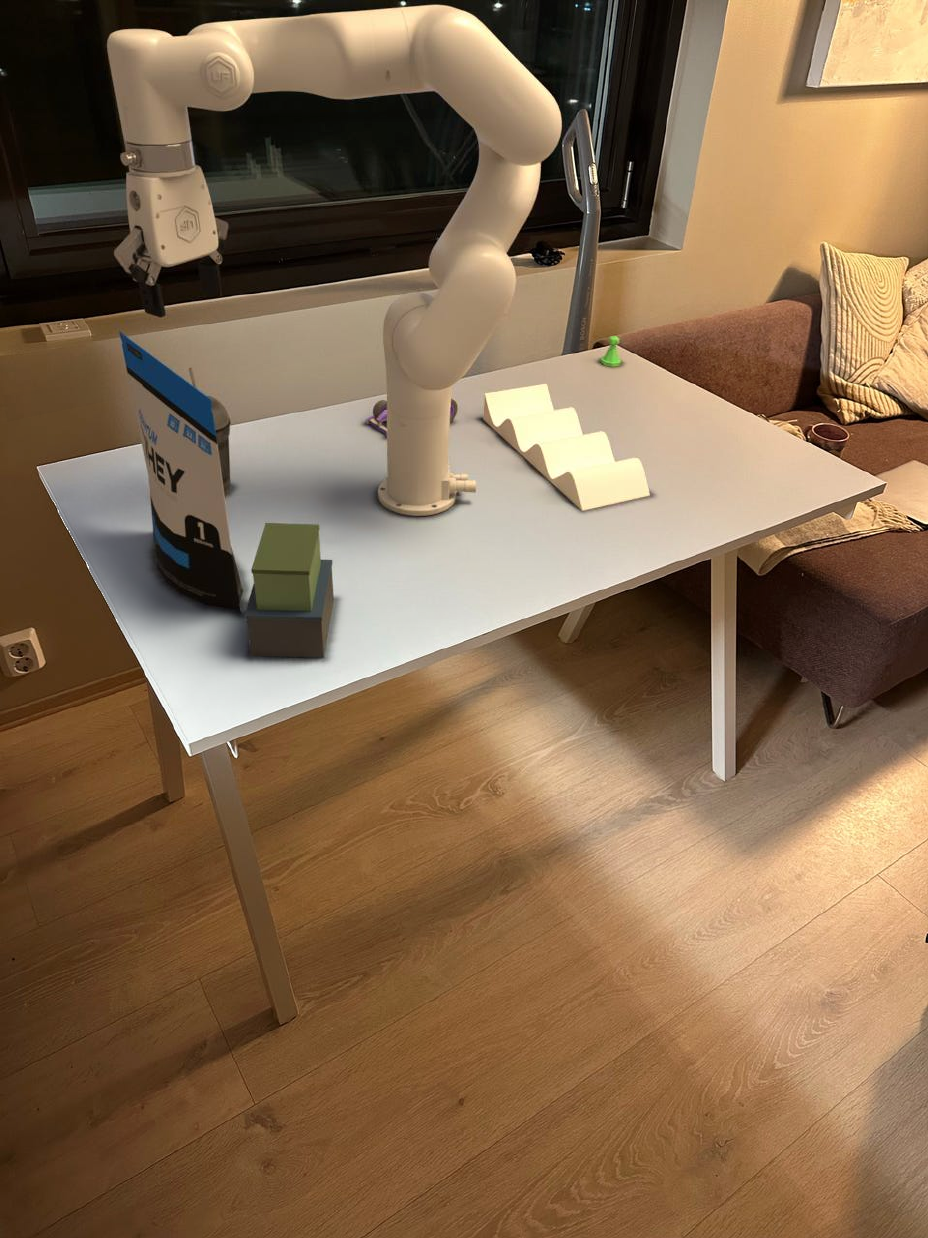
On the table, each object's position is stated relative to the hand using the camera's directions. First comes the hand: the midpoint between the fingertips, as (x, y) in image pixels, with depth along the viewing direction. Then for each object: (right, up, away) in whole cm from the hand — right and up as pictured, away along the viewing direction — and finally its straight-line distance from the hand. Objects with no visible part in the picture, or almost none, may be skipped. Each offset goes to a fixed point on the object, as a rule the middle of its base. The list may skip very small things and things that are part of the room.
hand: (184, 304), depth 113 cm
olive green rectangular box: (+14, -36, -4) cm, 39 cm away
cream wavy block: (+53, -12, +41) cm, 68 cm away
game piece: (+68, +14, +76) cm, 102 cm away
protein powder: (-1, -34, +9) cm, 35 cm away
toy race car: (+26, -4, +49) cm, 56 cm away
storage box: (+14, -42, 0) cm, 44 cm away
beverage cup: (-3, -20, +27) cm, 34 cm away
